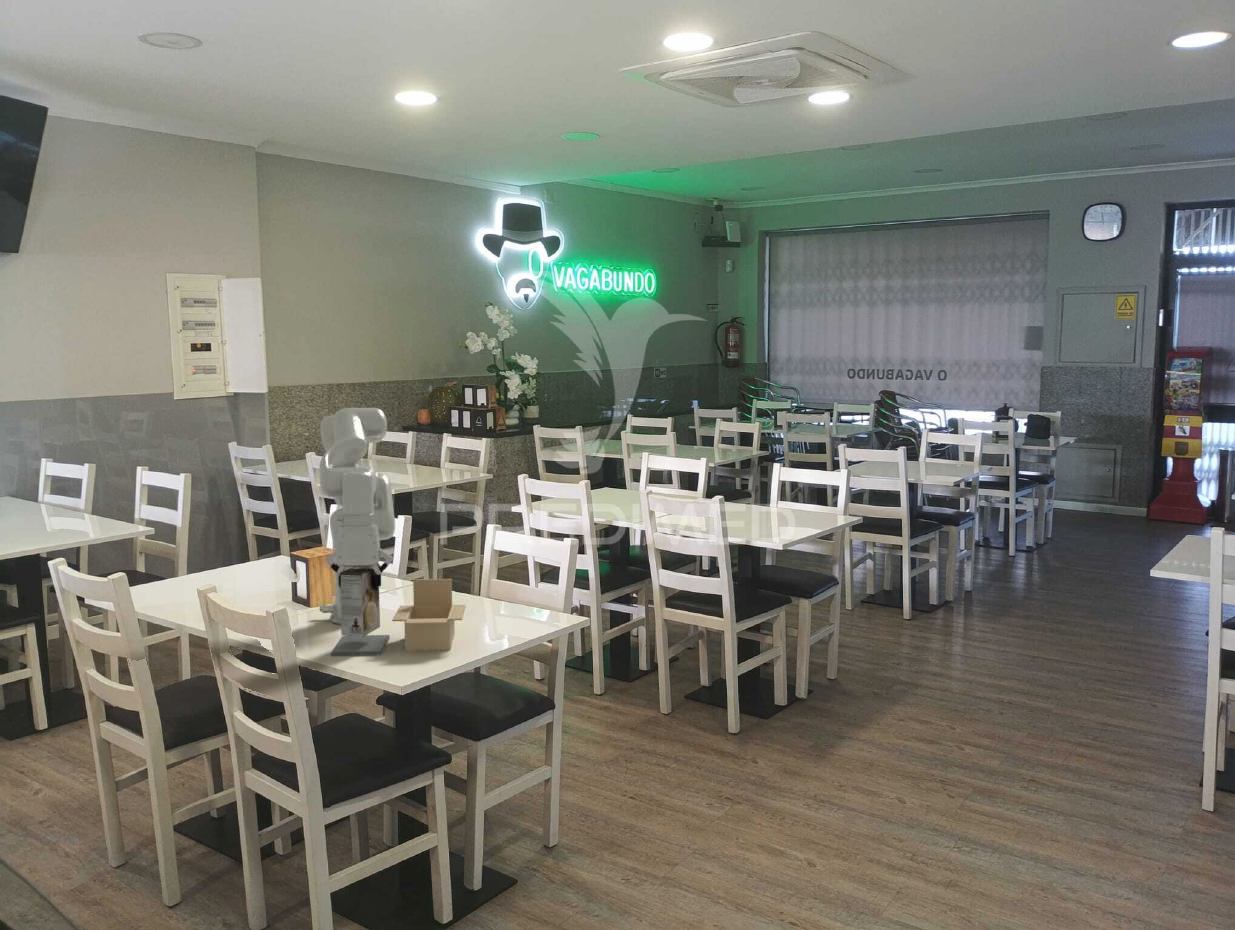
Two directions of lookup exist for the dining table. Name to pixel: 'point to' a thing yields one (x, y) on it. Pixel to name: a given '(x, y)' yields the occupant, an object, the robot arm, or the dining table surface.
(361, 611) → the coffee box
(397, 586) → the dining table surface
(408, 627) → the carton
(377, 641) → the tray
